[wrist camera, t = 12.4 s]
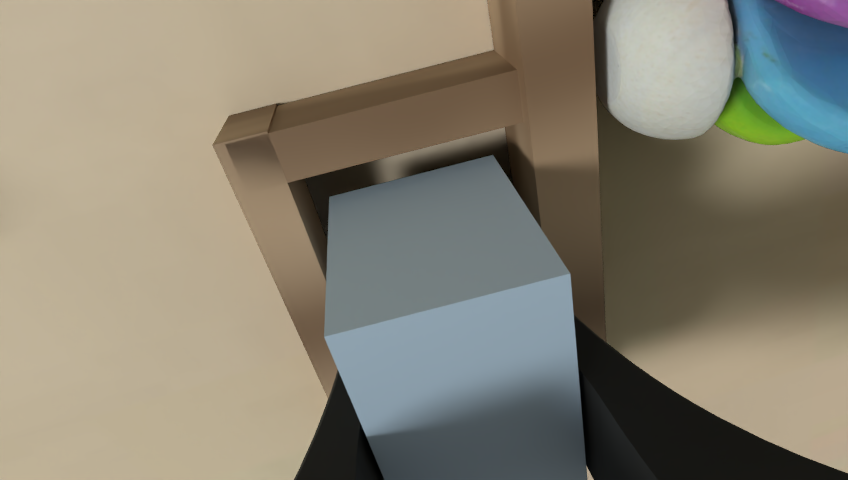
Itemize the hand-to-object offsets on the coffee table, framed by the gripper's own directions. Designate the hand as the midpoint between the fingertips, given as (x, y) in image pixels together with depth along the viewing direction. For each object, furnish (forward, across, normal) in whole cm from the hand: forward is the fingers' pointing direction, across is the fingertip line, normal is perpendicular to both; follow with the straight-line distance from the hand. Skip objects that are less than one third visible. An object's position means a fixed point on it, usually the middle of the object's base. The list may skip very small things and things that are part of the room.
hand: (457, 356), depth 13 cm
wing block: (+2, 0, 0) cm, 2 cm away
